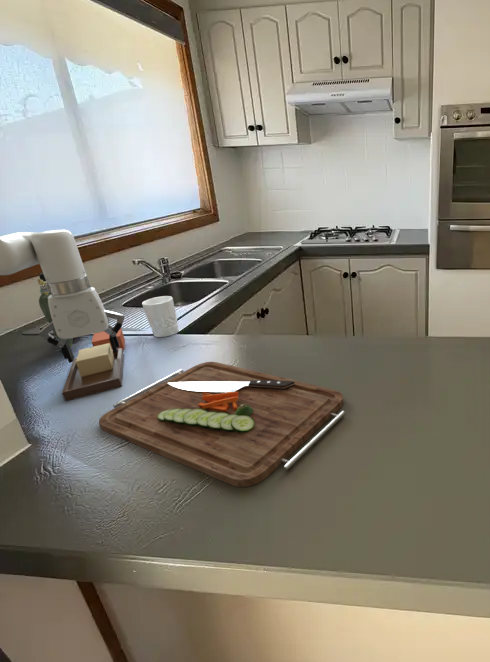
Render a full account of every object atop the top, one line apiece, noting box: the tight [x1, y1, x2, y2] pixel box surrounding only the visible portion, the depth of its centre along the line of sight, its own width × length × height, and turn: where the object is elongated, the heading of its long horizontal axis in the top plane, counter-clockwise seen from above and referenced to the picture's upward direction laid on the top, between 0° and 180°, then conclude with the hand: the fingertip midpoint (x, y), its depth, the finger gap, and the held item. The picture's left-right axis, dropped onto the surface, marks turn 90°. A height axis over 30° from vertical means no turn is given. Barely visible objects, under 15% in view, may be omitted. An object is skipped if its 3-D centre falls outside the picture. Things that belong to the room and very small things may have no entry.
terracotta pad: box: [91, 328, 126, 351], centre depth 114 cm, size 6×8×4 cm
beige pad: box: [75, 343, 114, 377], centre depth 102 cm, size 6×8×4 cm
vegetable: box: [37, 278, 74, 348], centre depth 113 cm, size 4×4×20 cm
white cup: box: [141, 295, 180, 338], centre depth 121 cm, size 8×8×10 cm
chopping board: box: [98, 361, 346, 488], centre depth 80 cm, size 45×27×3 cm, turn 61°
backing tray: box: [61, 348, 125, 402], centre depth 99 cm, size 11×20×2 cm, turn 28°
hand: (94, 355), depth 101 cm, fingers open, 8 cm apart
